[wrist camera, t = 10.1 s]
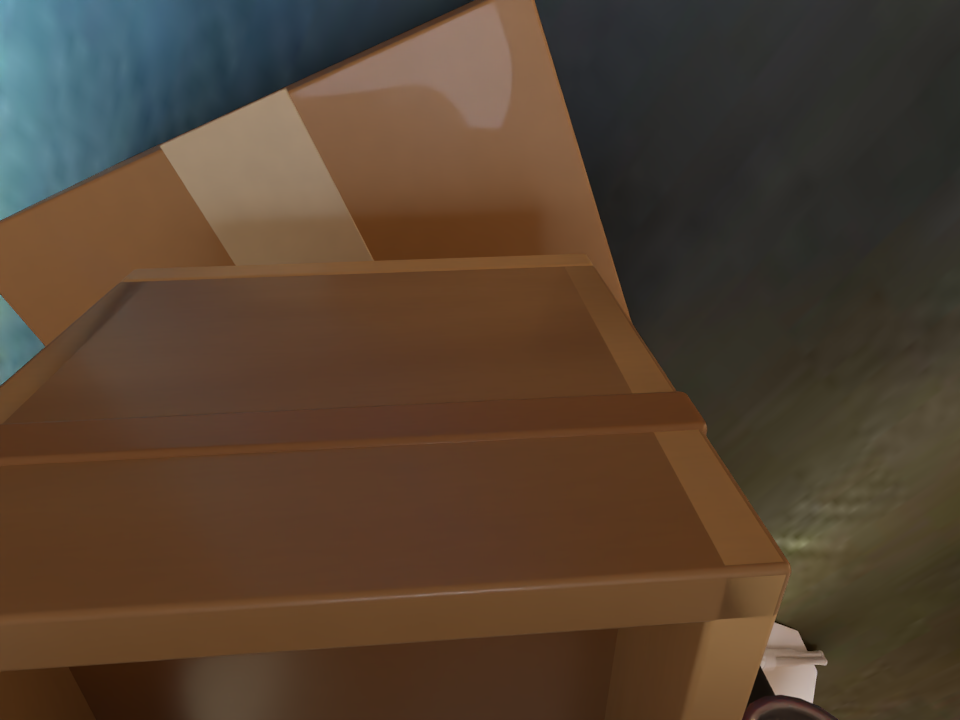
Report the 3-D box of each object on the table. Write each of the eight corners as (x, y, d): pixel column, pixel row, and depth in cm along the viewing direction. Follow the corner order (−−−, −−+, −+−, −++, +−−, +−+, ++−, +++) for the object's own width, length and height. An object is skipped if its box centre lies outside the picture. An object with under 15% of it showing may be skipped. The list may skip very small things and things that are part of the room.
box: (119, 160, 17) (-50, 241, 11) (488, -9, 16) (528, -24, 10) (342, 490, 23) (313, 660, 17) (620, 388, 22) (695, 532, 16)
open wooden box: (128, 264, 9) (-312, 634, 4) (590, 248, 9) (804, 561, 4) (251, 669, 13) (135, 1100, 8) (558, 647, 14) (639, 1044, 8)
